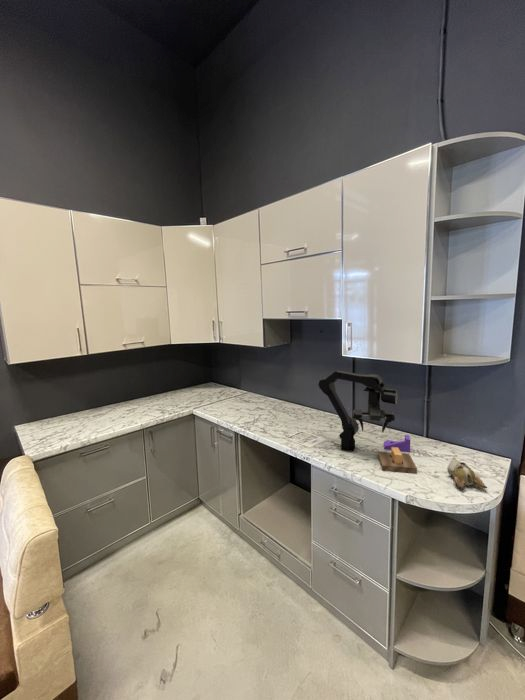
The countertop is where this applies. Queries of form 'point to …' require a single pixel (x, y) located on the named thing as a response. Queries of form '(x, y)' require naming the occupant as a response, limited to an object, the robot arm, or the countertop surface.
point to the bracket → (399, 444)
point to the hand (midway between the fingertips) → (372, 431)
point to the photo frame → (310, 443)
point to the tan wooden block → (396, 455)
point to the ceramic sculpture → (463, 474)
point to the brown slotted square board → (389, 464)
